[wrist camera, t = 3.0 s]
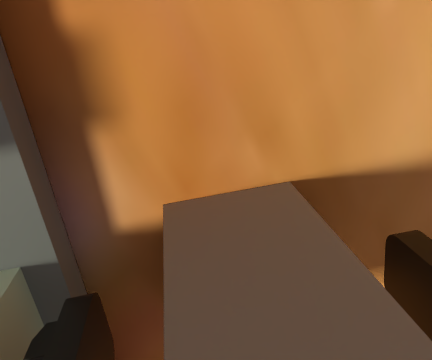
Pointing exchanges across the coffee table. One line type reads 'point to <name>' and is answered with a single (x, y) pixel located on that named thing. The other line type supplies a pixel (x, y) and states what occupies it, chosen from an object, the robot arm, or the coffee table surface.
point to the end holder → (16, 315)
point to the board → (31, 209)
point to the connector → (273, 285)
